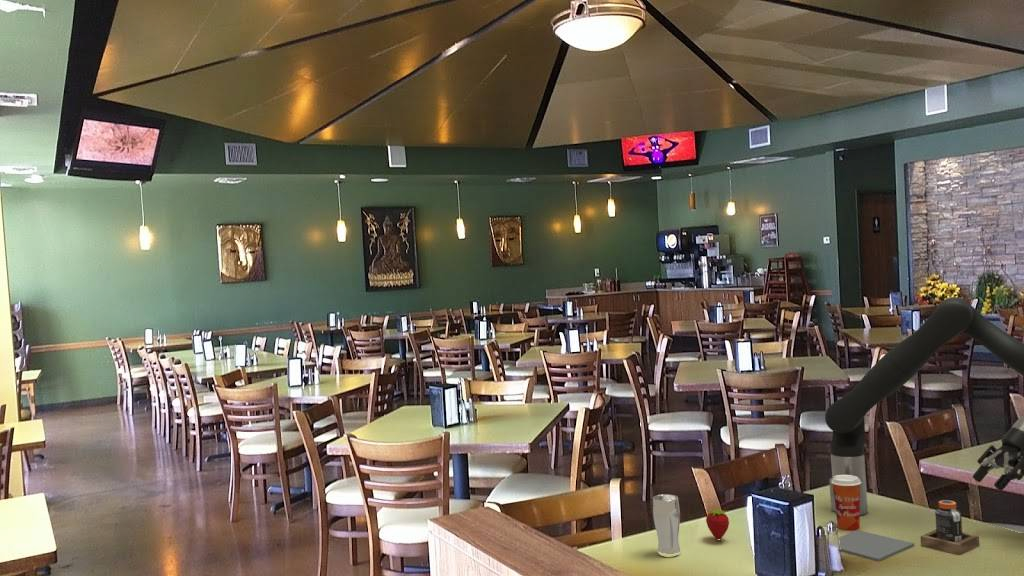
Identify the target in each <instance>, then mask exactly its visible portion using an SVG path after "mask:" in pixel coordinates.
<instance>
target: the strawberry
mask: <svg viewBox="0 0 1024 576" xmlns="http://www.w3.org/2000/svg"><path fill="white" fill-rule="evenodd" d="M720 505H721V504H720V503H719V504H718V506H717V507H716V509H713V508H712V509H711V510H709V511H708V514H707V515H706V519H705V522H706V525H707V528H708V530H709V532H710V533H711V534H712V535H713V537H714V538H715V540H716V539H721V540H722V539H723V537H724V536H725V534H726V532H727V530H728V529H729V526H730V520H729V517H728V516H727V514H726V513H727V512H729V510H720V509H718V508H719V507H720Z"/></svg>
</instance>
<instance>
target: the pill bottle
mask: <svg viewBox="0 0 1024 576" xmlns="http://www.w3.org/2000/svg"><path fill="white" fill-rule="evenodd" d="M934 513H935V514H934V515H935V517H934V518H935V530H936V535H937V538H938V539H943V540H947V541H951V542H956V543H957V542H959V541H961V540H963V536H962V532H963V523H962V522H963V521H962V513H961V511H959V510H958V509H957V502H955V501H954V500H950V499H949V500H948V499H946V500H945V499H943V500H939V501H938V508H937V509H936V510H935V512H934Z"/></svg>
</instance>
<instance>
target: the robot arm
mask: <svg viewBox="0 0 1024 576" xmlns="http://www.w3.org/2000/svg"><path fill="white" fill-rule="evenodd" d="M960 334H963V335H965V336H968V337H969V338H970V339H973V340H974V341H976V342H978V344H980V345H982V346H983V347H984V348H986V349H987V350H988V351H989V352H990V353H992V355H994V357H996V358H997V359H999V361H1001V362H1002V363H1003V364H1005V366H1007V367H1009V368H1011V369H1012V370H1013V371H1015V372H1016V373H1018V374H1020V375H1021V376H1023V377H1024V342H1021V341H1020V340H1019V339H1018V338H1015V337H1014V336H1012V335H1011V334H1009V333H1007V332H1006V331H1004V330H1002V329H1001V328H1000V327H998V326H997V325H995V324H994V323H993V322H991V321H990V320H988V319H987V318H986V317H985V316H984V315H983V314H982V313H980V311H978V310H977V309H976V308H975V307H974V306H973V305H971V304H970V302H969V301H968V300H966V299H964V298H962V297H957V296H951V297H947V298H945V299H943V300H942V301H941V302H940V303H939V304H938V305H937V306H936V308H935V309H934V311H933V312H932V313H931V314H930V316H929V317H928V318H926V320H925V321H924V322H923V323H922V325H921V326H920V327H919V328H918V329H917V330H916V331H915V332H913V333H912V334H910V335H909V336H908V337H906V338H905V339H903V340H902V341H900V342H899V343H897V344H896V345H895V346H894V347H892V348H891V349H889V350H888V351H887V352H886V353H885V355H883V356H882V357H881V358H880V359H878V361H877V362H876V363H875V364H874V365H873V366H872V367H871V368H870V369H869V370H868V372H866V373H865V375H864V376H863V377H862V378H861V379H860V380H859V381H858V383H857V384H856V385H855V386H854V387H853V388H852V389H851V390H849V391H848V392H847V393H845V394H844V395H843V396H842V397H840V398H838V399H837V400H836V401H835V402H833V403H831V404H830V405H829V406H828V407H827V409H826V412H825V415H824V416H825V418H824V420H825V424H826V426H827V427H828V428H829V429H830V430H831V431H832V438H831V442H830V447H829V448H830V452H829V453H830V463H831V477H830V478H829V495H830V496H829V497H830V498H829V499H830V510H831V511H834V513H836V507H835V499H834V491H833V483H831V481H832V479H833V477H834V476H836V475H853V476H856V477H858V479H860V481H861V484H860V516H863V515H866V514H868V511H869V510H868V508H869V507H868V498H867V497H868V494H867V493H868V492H867V477H866V464H865V463H866V461H865V445H866V444H865V443H866V428H865V427H866V426H865V424H866V423H865V422H866V421H865V416H866V414H867V413H869V411H870V410H871V409H873V408H874V407H875V406H876V405H878V404H879V403H880V402H881V401H883V400H884V399H886V398H888V397H890V396H891V395H893V393H895V392H896V391H898V390H899V389H900V388H901V387H903V386H905V384H906V383H908V382H909V381H910V380H911V379H912V378H913V377H914V376H915V375H916V374H917V373H918V372H919V371H921V369H923V367H924V366H925V365H926V364H927V362H929V360H930V359H931V358H932V357H933V355H934V354H935V353H936V352H937V351H939V349H941V348H942V347H943V346H945V345H946V344H947V343H948V342H950V341H951V340H953V339H954V338H955V337H957V336H958V335H960ZM1000 440H1001V441H1000V442H1001V445H1002V446H1000V447H999V448H996V447H995V446H994V445H990V446H989V447H987V449H986V450H985V451H984V452H983V453H982V454H981V456H980V457H979V458H978V459H977V462H976V463H978V464H979V467H978V468H977V470H976V471H975V472H974V474H973V475H972V479H974V480H975V481H976V482H978V483H981V482H982V481H983V479H984V478H985V477H986V476H987V475H988V474H989V472H990V471H992V470H994V469H995V470H997V469H1000V468H1002V469H1004V472H1003V473H1002V474H1001V475H1000V476H999V478H998V479H997V480H996V481H995V482H994V484H993V486H994V487H995V488H996V489H997V491H998V490H999V491H1000V492H1001V491H1003V490H1004V489H1006V487H1007V486H1008V485H1009V483H1010V482H1011V481H1014V480H1017V481H1020V480H1022V479H1023V477H1024V414H1023V415H1021V417H1019V418H1018V419H1017V420H1016V422H1014V423H1013V425H1012V426H1011V427H1010V429H1009V430H1008V431H1007V432H1006V433H1005V435H1004V436H1003V437H1002V438H1001V439H1000ZM985 459H986V460H985ZM1019 470H1020V471H1019ZM1018 471H1019V472H1018Z"/></svg>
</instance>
